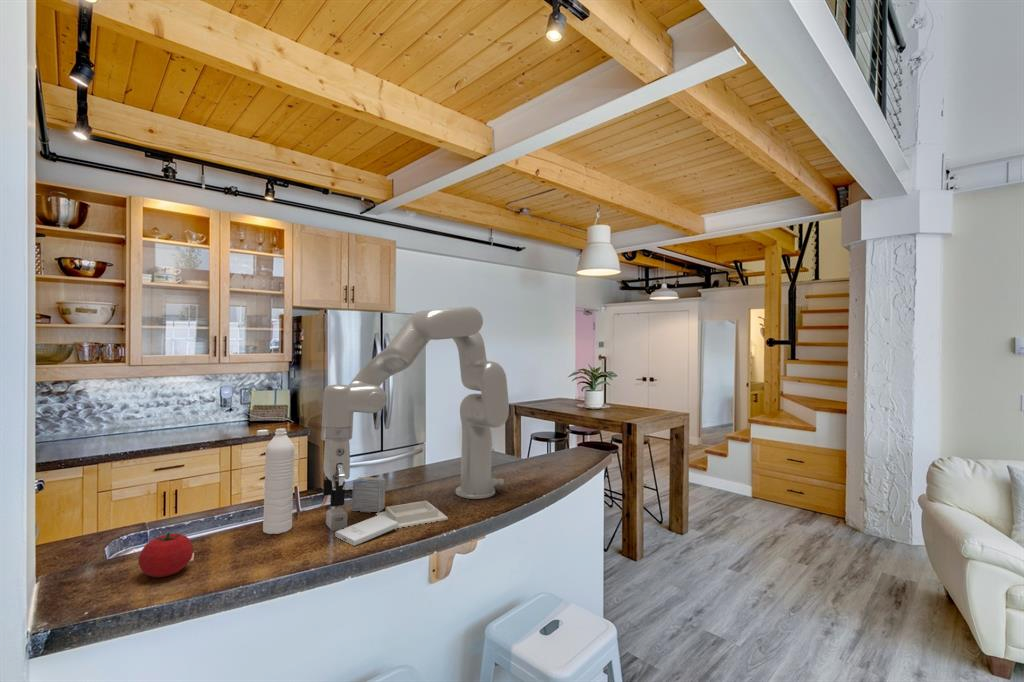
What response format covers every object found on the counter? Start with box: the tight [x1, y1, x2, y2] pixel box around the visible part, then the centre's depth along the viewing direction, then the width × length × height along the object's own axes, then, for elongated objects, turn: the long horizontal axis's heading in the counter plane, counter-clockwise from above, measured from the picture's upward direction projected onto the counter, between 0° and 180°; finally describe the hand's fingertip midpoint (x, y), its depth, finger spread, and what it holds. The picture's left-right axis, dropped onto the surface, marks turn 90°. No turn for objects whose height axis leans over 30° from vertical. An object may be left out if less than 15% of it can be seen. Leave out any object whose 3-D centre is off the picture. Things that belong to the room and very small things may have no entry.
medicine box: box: [351, 476, 386, 513], centre depth 131 cm, size 8×4×9 cm, turn 84°
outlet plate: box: [375, 500, 449, 530], centre depth 126 cm, size 16×12×2 cm
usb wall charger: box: [325, 507, 348, 532], centre depth 120 cm, size 4×7×4 cm, turn 36°
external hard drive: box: [334, 515, 398, 547], centre depth 114 cm, size 2×8×12 cm
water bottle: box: [256, 427, 296, 535], centre depth 115 cm, size 9×6×25 cm
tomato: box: [137, 532, 194, 578], centre depth 93 cm, size 9×9×8 cm
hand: (333, 500), depth 119 cm, fingers open, 9 cm apart
